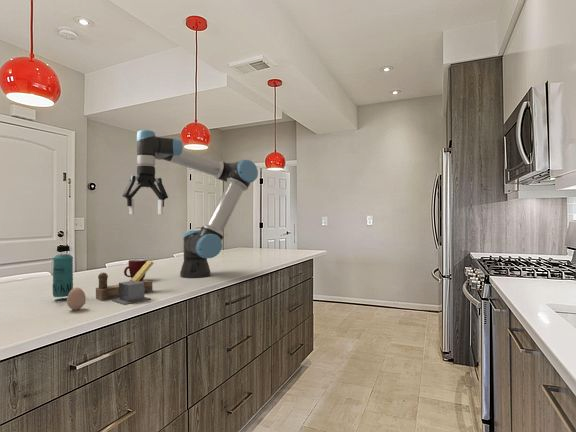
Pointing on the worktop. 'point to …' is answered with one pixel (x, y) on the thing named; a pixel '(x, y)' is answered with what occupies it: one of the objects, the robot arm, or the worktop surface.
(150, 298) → the pad
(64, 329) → the worktop surface
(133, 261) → the mug
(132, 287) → the grey block
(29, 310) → the worktop surface
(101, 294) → the plane body
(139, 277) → the lever
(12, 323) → the worktop surface
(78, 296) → the egg
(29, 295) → the worktop surface
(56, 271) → the beverage bottle
